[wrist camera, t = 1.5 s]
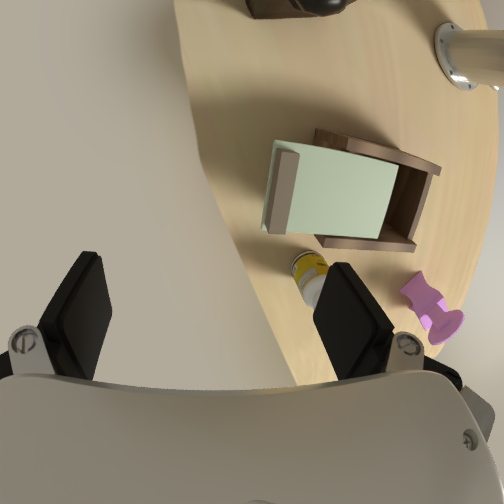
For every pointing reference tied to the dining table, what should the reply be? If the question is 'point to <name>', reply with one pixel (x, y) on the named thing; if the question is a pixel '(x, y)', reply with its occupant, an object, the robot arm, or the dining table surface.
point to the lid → (326, 191)
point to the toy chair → (432, 310)
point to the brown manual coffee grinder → (295, 8)
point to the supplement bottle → (309, 276)
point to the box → (401, 201)
